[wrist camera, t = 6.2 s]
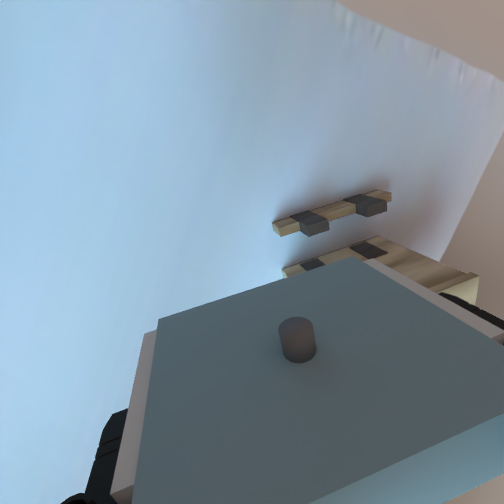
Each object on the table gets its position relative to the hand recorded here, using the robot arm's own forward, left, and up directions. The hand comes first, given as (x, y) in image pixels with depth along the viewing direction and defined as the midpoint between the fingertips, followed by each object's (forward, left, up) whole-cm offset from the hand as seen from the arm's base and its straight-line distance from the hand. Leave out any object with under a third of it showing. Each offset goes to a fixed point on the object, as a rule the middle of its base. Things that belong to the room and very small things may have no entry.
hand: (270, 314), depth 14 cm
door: (0, 0, -1) cm, 1 cm away
